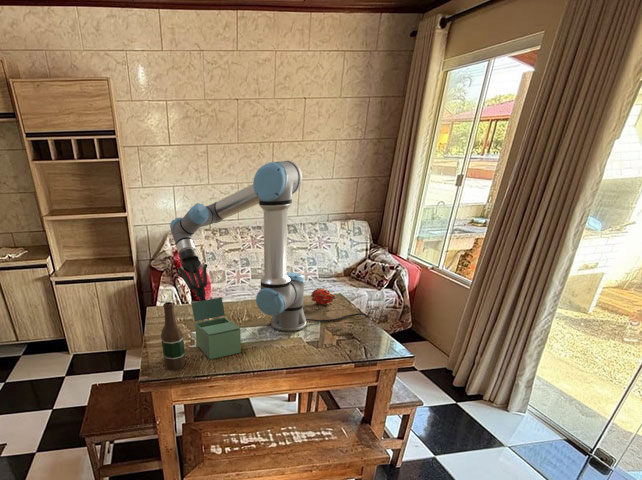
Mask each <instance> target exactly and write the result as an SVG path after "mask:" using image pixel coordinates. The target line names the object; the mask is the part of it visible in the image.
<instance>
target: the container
mask: <svg viewBox="0 0 642 480" xmlns="http://www.w3.org/2000/svg"><path fill="white" fill-rule="evenodd" d="M194 328H195V329H194V330H195V340H196V346H197V347H198V348H199V349H200V350H201V352H203V354H204V355H205V356H206V358H208V359H209V360H213V359H217V358H218V359H219V358H223V357H227V356H231V355H235V354H241V352H242V344H241V343H242V342H241V340H242V339H241V337H242V336H241V327H240V326H239V325H237V323H235V322H234V321H230V320H229V319H228V318H227V317H225V316H222V317H217V318H211V319H206V320H201V321H196V322H194Z"/></svg>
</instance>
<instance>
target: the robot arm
mask: <svg viewBox="0 0 642 480" xmlns="http://www.w3.org/2000/svg"><path fill="white" fill-rule="evenodd" d="M252 181H253V183H252V184H251V185H249V186H246V187H244V188H242V189H240V190H238V191H236V192H234V193H232V194H229V195H227V196H226V197H224V198H222V199H219V200H218V201H215V202H213V203H211V204H209V205H204V204H203V203H200V202H196V203H195V204H194V205H192V206H191V207H190V208H189V210H188V211H187V212H186V213H185V215H184V216H183V217H176V218H175V219H172V220H171V221H170V224H169V228H170V233H171V236H172V239H173V242H174V244H175V247H176V251H177V254H178V257H179V260H180V263H181V267H178V269H177V273H178V274H179V275H180V276H181V278H182V280H183V281H184V282H185V284H186V286H187V287H188V289H189V291H192V290H193V292H194V294H195V296H196V297H198V298H199V301H203V300H207V299H206V295H207V294H206V292H207V291H206V290H205V288H207V286H208V274H207V268H208V263H205V264H203V263H202V262H201V260H200V258H199V255H198V252H197V249H196V245H195V244H194V240H193V235H194V234H195V233H196V232H197V231H198V230H199V229H200V228H203V227H207V226H210V225H214V224H219V223H221V222H222V221H223V220H225V219H227V218H229V217H232V216H235V215H237V214H239V213H241V212H243V211H245V210H247V209H250V208H252V207H255V206H257V205H258V206H259V207H260V208H261V209H262V211H263V260H264V261H263V269H264V270H263V271H264V273H263V276H262V278H260V290H258V292H257V294H256V296H255V302H256V303H255V304H256V307H257V308H258V309H259V310H260V311H261V313H262V314H265V315H266V316H270V317H271V320H270V325H271V327H272V328H273V329H274V330H277V331H281V332H297V331H298V332H299V331H302V330H303V329H305V328H306V326H307V321H311V322H333V321H334V322H335V321H340V320H342V319H345V318H349V317H354V316H365V317H366V318H369V317H370V316H369V315H368V314H366V313H364V312H363V313H362V312H360V313H353V314H346V315H343V316H340V317H337V318H330V319H315V318H306V316H305V311H304V296H305V295H304V294H305V284H306V282H305V276H304V274H302V273H299V272H292V271H287V270H288V266H287V265H288V209H289V207H290V206H292V205H293V195H294V194H295V193H296V192H297V191H298V190H299V189H300V187H301V186H302V182H303V174H302V170H301V168H300V166H299V165H298V164H297V163H295V162H293V161H291V160H281V161H270V162H268V163H265V164H263V165H261V166H260V167H259V168H258V169H257V171H256V172H255V173H254V177H253V180H252ZM200 269H201V270H202V272H200ZM201 273H202V276H201Z"/></svg>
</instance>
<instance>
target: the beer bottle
mask: <svg viewBox="0 0 642 480" xmlns="http://www.w3.org/2000/svg"><path fill="white" fill-rule="evenodd" d="M162 307H163V312H164V313H163V314H164V326H163V327H162V329H161V334H160V338H161V339H160V341H161V346H162V353H163V354H162V357H163V361H164V366H165V367H166V369H167V370H173V371H176V370H179V369H183V367H184V366H186V354H185V343H184V335H183V332H182V329H181V328H180V327H179V326H178V324H177V319H176V314H175V308H174V307H175V305H174V303H173V302H172V301H167V302H164V303H162Z"/></svg>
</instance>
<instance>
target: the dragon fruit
mask: <svg viewBox="0 0 642 480" xmlns="http://www.w3.org/2000/svg"><path fill="white" fill-rule="evenodd" d="M330 292H331V291H330V290H328V289H325V288H319V287H317V289H314V290H312V292H311V293H310V297H311V301H312V302H315V303H316V304H317V305H318V306H319V305H323V306H329V305H330V303H333V300H335V299H336V297H335V294H333V293H330Z"/></svg>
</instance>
